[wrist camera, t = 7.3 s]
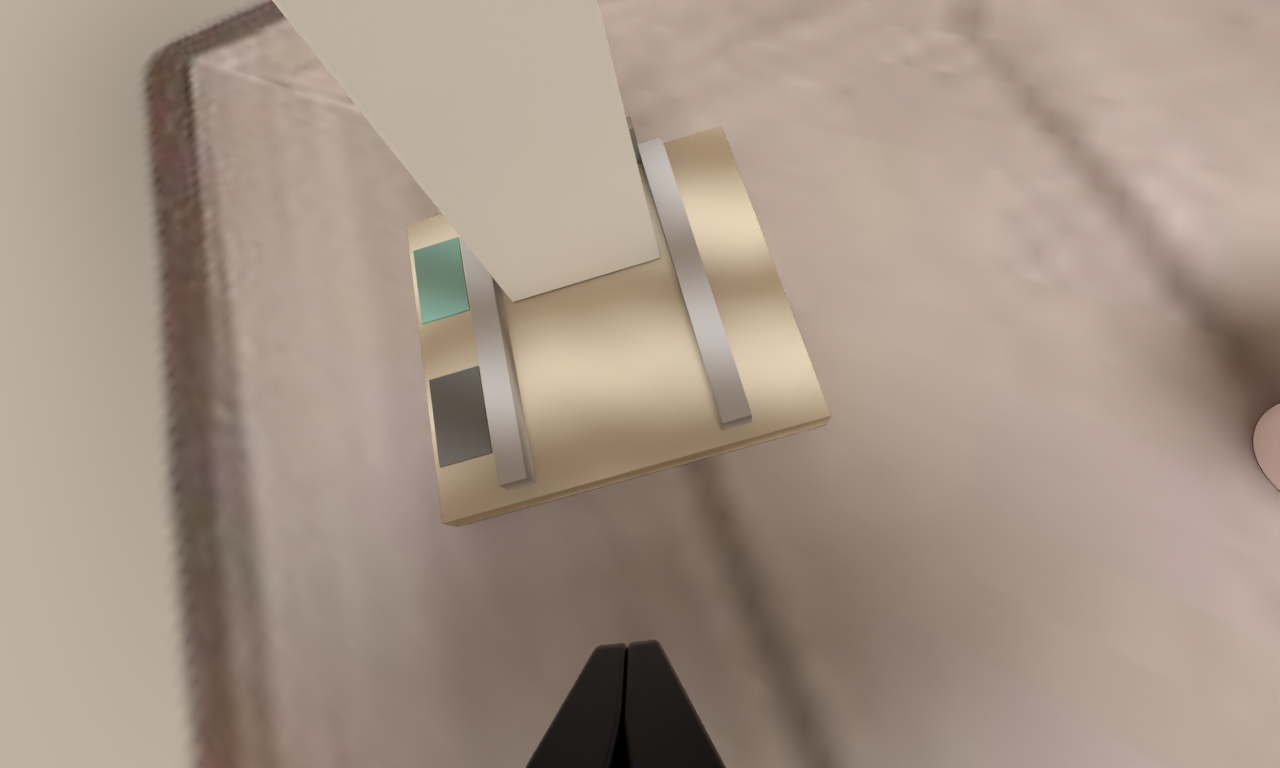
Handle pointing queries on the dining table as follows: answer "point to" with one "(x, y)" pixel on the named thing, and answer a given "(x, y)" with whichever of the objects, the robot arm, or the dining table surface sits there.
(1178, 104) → the dining table surface
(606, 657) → the robot arm
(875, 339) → the dining table surface
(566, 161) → the white rectangular tower
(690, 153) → the switch base
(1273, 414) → the smoothie
